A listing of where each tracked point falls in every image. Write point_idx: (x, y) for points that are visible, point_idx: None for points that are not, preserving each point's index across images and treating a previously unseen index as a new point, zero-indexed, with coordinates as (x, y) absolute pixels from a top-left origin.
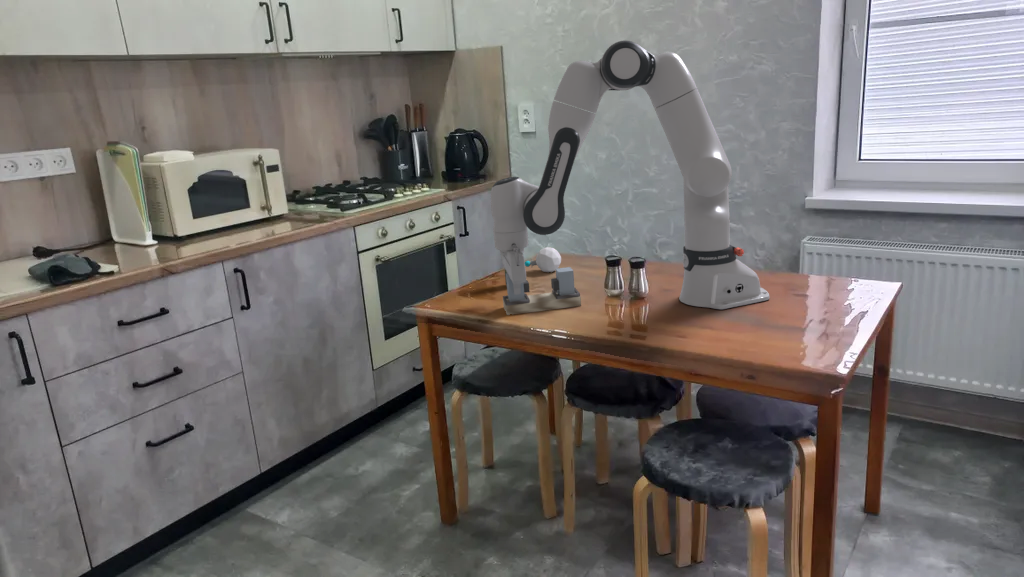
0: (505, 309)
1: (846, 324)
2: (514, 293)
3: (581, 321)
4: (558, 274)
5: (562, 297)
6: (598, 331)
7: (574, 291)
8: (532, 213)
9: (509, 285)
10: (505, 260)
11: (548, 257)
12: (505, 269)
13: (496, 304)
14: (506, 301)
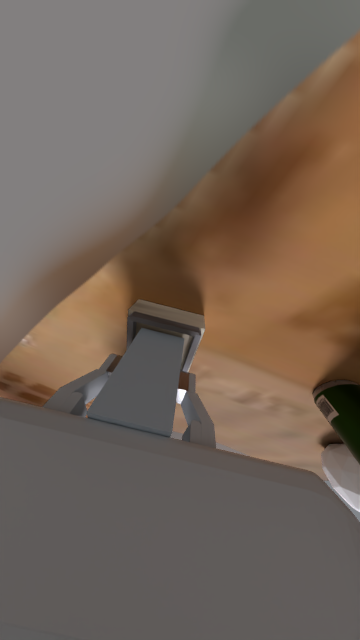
0: (162, 308)
1: None
2: (110, 355)
3: (63, 373)
4: None
5: None
6: (18, 369)
7: None
8: None
9: (115, 372)
10: (146, 607)
11: (350, 489)
12: (215, 458)
13: (242, 310)
14: (140, 321)
